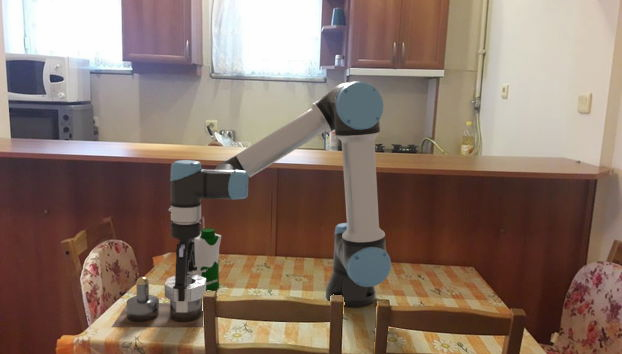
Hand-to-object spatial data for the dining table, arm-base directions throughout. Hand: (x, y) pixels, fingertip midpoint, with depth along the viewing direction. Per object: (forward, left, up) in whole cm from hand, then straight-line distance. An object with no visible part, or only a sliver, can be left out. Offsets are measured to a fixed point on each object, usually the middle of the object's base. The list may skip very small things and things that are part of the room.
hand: (185, 302), depth 127 cm
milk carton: (-19, +2, -5) cm, 20 cm away
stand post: (0, 0, -4) cm, 4 cm away
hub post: (0, -11, -4) cm, 12 cm away
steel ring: (0, 0, +2) cm, 2 cm away
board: (0, -5, -5) cm, 7 cm away
